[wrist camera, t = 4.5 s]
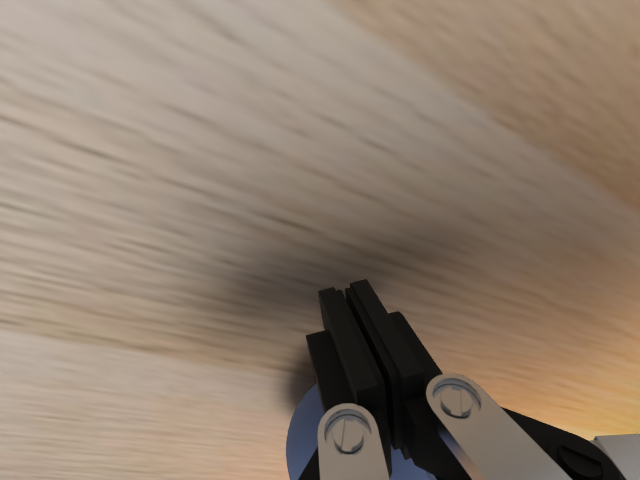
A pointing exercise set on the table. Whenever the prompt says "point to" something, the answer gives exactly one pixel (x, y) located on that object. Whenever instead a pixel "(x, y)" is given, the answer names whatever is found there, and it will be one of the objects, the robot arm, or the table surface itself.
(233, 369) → the table surface
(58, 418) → the table surface
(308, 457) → the blue ball
